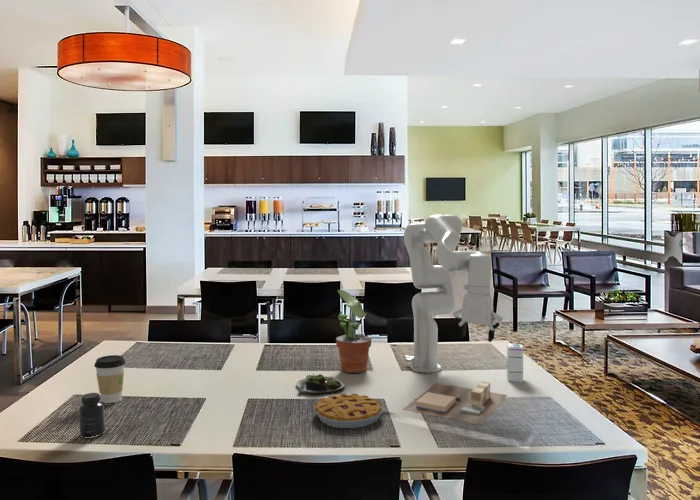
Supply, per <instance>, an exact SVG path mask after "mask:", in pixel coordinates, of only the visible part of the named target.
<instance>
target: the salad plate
mask: <svg viewBox="0 0 700 500" xmlns="http://www.w3.org/2000/svg"><path fill="white" fill-rule="evenodd" d="M325 381H327V382H325ZM296 386H297V388H298V392H301V393H303V394H304V393H305V395H307V394H309V395H308V396H324V394H326V395H333V394H332V393H334V394H338V393H340V391H341V392H342V391H343V390H344V389H345V386H346V385H345V384H344V383H343V381H341V380H340V379H338V378H337V377H335V376H324V375H323V374H322V373H321V374H320V373H319V374H314V373H312V374H307V375H306V376H305V378H302V379H300V380H298V381H296Z"/></svg>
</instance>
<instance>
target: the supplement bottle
mask: <svg viewBox="0 0 700 500" xmlns="http://www.w3.org/2000/svg"><path fill="white" fill-rule="evenodd" d="M104 405H105V404H103V403H102V401H101V395H100V393H99V392H88V393H86V394H85V393H84V394H83V395H81V405H80V406H79V407H78V423H79V426H78V427H79V436H80V435H81V436H83V437H92V436H96V435H100V434H102V433H103V432H104V431H105V432H106V418H105V406H104ZM81 436H80V437H81Z"/></svg>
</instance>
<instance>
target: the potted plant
mask: <svg viewBox="0 0 700 500" xmlns="http://www.w3.org/2000/svg"><path fill="white" fill-rule="evenodd" d="M337 293H338V295H340V297H341V298H342V299H343V301H344V302H345V303H346V304H345V305H346V306H347V308H350V310H349V315H347V314H345V313H343V314H341V313H340V314H337V319H338V321H339V324H338V325H339V327H340V328H341V329H342V330H344V333H345V334H343V335H340V336H337V337H335V343H336V344H335V345H336V347H337V348H338V352H339V353H338V354H339V361H340V366H341V368H340V369H341V371H342V372H345V373H347V374H348V373H349V374H358V373H359V374H360V373H364V372H366V370H367V367H368V359H369V351H370V348H371V346H372V337H371V336H367V335H365V334H363V333H355V334H354V330H355V331H356V330H359V327H360V322H356V321H355V317H357V318H359V319H363V318H365V317H366V316H367V312H365V311H364V309H363V308H362V303H361V300H358V299H357V298H356V297H354V296H353V295H352V294H351V293H349V292H348V291H345V290H344V289H343V290H342V289H337ZM348 316H349V317H348ZM347 323H348V324H347ZM347 325H348V327H347Z"/></svg>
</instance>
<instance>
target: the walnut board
mask: <svg viewBox="0 0 700 500" xmlns="http://www.w3.org/2000/svg"><path fill="white" fill-rule="evenodd" d="M474 389H475V388H467V387H462V386H455V385H450V384H445V383H439V382H436V383H434V384H433V385H432V386H430V387H429V388H428V389H427V390H426V391H424V392H423V393H421V394H420V395H418V397H417V398H415V399H414V400H413V401H411V402H410V403H409V404H408V405H406V406H404V407H403V408H402V410H405V411H409V412H414V413H419V414H423V415H429V416H433V417H439V418H443V419H444V418H445V419H449V420H453V421H458V422H459V421H460V422H464V423H468V424H469V423H470V424H475V425H478V426H483V424H484V423H485V422H486V421H487V420H488V418H490V416H492V414H493V413H494V411H495V410H496V409H497V408H498V407H499V406H500V404H501V403H502V402H503V401H504V399H506V397H507V396H508V394H502V393H497V392H493V391H492V392H491V391H490V398H489V399H488V400H487V401H486V402H485V403H484V404H483V405H482V406H484V407H485V409H484V410H483V411H482V413H481V414H480V415H475V414H470V413H465V412H461V409H462V408H463V407H464V406H465V405H466V403H467V404H471V392H472V391H473V390H474ZM427 392H430V393H435V394H441V395H447V396H452V397H456V403H455V404H454V405H453V406H452V407H451V408H450V409H449V410H448V411H447V412H446V413H443V412H438V411H433V410H428V409H423V408H418V407H416V401H417V400H418V399H419V398H421V397H422V396H423V395H425V394H426V393H427Z"/></svg>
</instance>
